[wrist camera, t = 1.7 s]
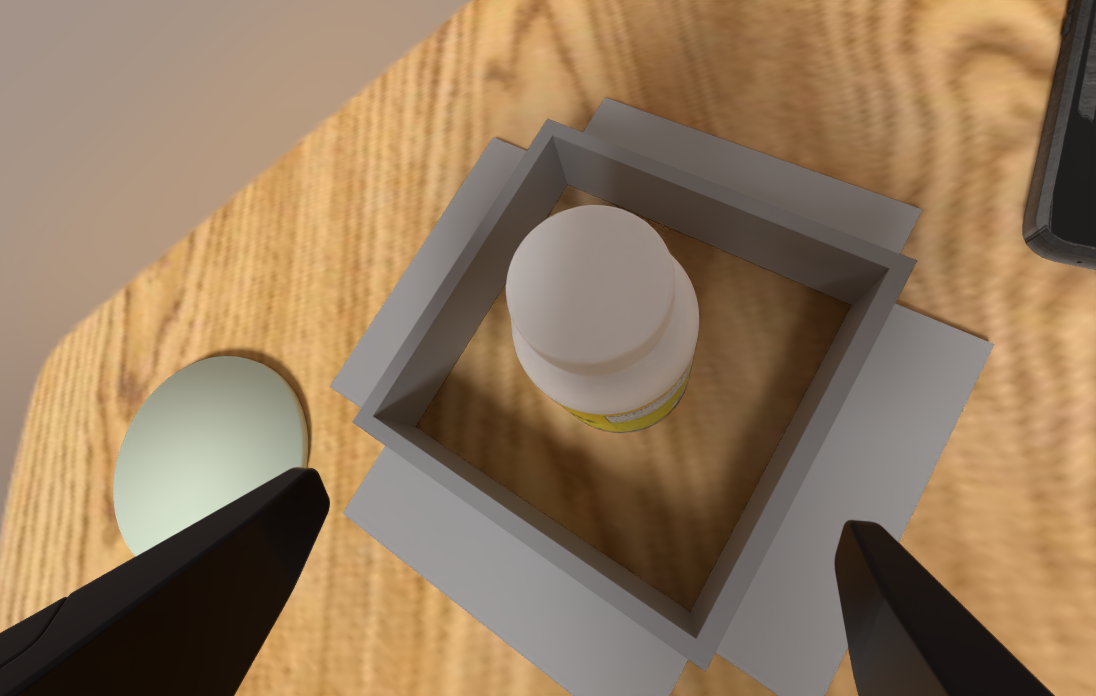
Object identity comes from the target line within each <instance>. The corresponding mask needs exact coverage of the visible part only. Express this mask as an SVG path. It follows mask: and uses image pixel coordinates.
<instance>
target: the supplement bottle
mask: <svg viewBox="0 0 1096 696" xmlns="http://www.w3.org/2000/svg"><path fill="white" fill-rule="evenodd" d="M506 299H507V305H508V310H509V313H510V316H511V318H512V321H511V327H512V338H513V343H514V347H515V351H516V354H517V356H518V359H519V361H520V363H521V365H522V367H523V368H524V370H525V372H526V373H527V375H528V376H529V378H530V379H531V380H532V381H533V383H534V384H535V385H536V386H537V387H538V388H539V389H540V390H541V391H542V392H543V393H545V394H546V395H547V396H548V397H550V398H551V399H552V400H554V401H555V402H556V403H558V404H559V405H561V406H562V407H563V408H564V409H566V410H567V411H569V412H570V413H571V414H573V415H574V416H575V417H577V418H578V419H579V420H581V421H582V422H584V423H586V424H588V425H589V426H591V427H594V428H596V429H599V430H602V431H606V432H612V433H630V432H636V431H640V430H643V429H646V428H648V427H651V426H653V425H655V424H656V423H658V422H659V421H661V420H662V419H664V418H665V417H666V416H667V415H668V414H669V413H670V412H671V411H672V410H673V409H674V408H675V407H676V406H677V404H678V403H679V401H680V399H681V398H682V396H683V394H684V392H685V389H686V386H687V383H688V379H689V374H690V370H691V366H692V362H693V357H694V352H695V348H696V343H697V339H698V333H699V308H698V302H697V298H696V294H695V291H694V288H693V285H692V283H691V281H690V279H689V277H688V275H687V273H686V272H685V270H684V269H683V267H682V266H681V265H680V264H679V263H678V261H677V260H676V259H675V258H674V257H673V256H672V255H671V254H670V253H669V251H668V249H667V246H666V245H665V243H664V241H663V239H662V238H661V237H660V235H659V234H658V233H657V232H656V231H655V230H654V229H653V228H652V227H651V226H650V225H649V224H648V223H647V222H645V221H644V220H643V219H641V218H639V217H638V216H636V215H635V214H632V213H630V212H628V211H625V210H623V209H620V208H616V207H611V206H604V205H585V206H579V207H574V208H571V209H567V210H564V211H561V212H559V213H557V214H555V215H553V216H551V217H549V218H548V219H546V220H545V221H543V222H542V223H540V224H539V225H538V226H536V227H535V228H534V229H533V230H532V231H531V232H530V233H529V234H528V235H527V236H526V237H525V239H524V240H523V241H522V243H521V244H520V246H519V247H518V249H517V250H516V252H515V254H514V256H513V259H512V261H511V263H510V267H509V270H508V274H507V280H506Z"/></svg>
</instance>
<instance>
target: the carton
mask: <svg viewBox="0 0 1096 696" xmlns="http://www.w3.org/2000/svg"><path fill="white" fill-rule="evenodd" d="M567 184H568V185H570V186H573V187H575V188H577V189H580V190H582V191H584V192H587V193H589V194H592V195H594V196H596V197H599V198H601V199H603V200H606V201H608V202H610V203H613V204H615V205H617V206H620V207H622V208H624V209H627V210H629V211H631V212H634V213H636V214H639V215H641V216H643V217H646V218H648V219H650V220H653V221H655V222H657V223H660V224H662V225H664V226H667V227H669V228H671V229H674V230H676V231H679V232H681V233H683V234H686V235H688V236H690V237H693V238H695V239H697V240H700V241H702V242H704V243H707V244H709V245H711V246H714V247H716V248H718V249H721V250H723V251H726V252H728V253H730V254H733V255H735V256H737V257H740V258H742V259H744V260H747V261H749V262H751V263H754V264H756V265H758V266H761V267H763V268H765V269H768V270H770V271H773V272H775V273H777V274H780V275H782V276H784V277H787V278H789V279H791V280H794V281H796V282H798V283H801V284H803V285H805V286H808V287H810V288H812V289H815V290H817V291H820V292H822V293H824V294H827V295H829V296H831V297H834V298H836V299H838V300H841V301H843V302H845V303H848V304H850V305H852V306H851V307H850V309H849V311H848V313H847V315H846V317H845V319H844V321H843V323H842V324H841V326H840V328H839V330H838V332H837V334H836V336H835V338H834V340H833V342H832V343H831V345H830V347H829V349H828V351H827V353H826V355H825V357H824V359H823V361H822V362H821V364H820V366H819V368H818V370H817V372H816V374H815V376H814V378H813V380H812V381H811V383H810V385H809V387H808V389H807V391H806V393H805V395H804V397H803V399H802V400H801V402H800V404H799V406H798V408H797V410H796V412H795V414H794V416H793V418H792V419H791V421H790V423H789V425H788V427H787V429H786V431H785V433H784V435H783V436H782V438H781V440H780V442H779V444H778V446H777V448H776V450H775V452H774V454H773V455H772V457H771V459H770V461H769V463H768V465H767V467H766V469H765V471H764V473H763V474H762V476H761V478H760V480H759V482H758V484H757V486H756V488H755V490H754V492H753V493H752V495H751V497H750V499H749V501H748V503H747V505H746V507H745V509H744V511H743V512H742V514H741V516H740V518H739V520H738V522H737V524H736V526H735V528H734V530H733V531H732V533H731V535H730V537H729V539H728V541H727V543H726V545H725V547H724V549H723V550H722V552H721V554H720V556H719V558H718V560H717V562H716V564H715V566H714V567H713V569H712V571H711V573H710V575H709V577H708V579H707V581H706V583H705V585H704V586H703V588H702V590H701V592H700V594H699V596H698V598H697V600H696V602H695V604H694V605H693V607H692V609H691V611H690V612H689V611H688V610H687V609H685V608H684V607H682V606H681V605H679V604H678V603H676V602H675V601H673V600H672V599H670V598H669V597H667V596H666V595H664V594H663V593H661V592H660V591H658V590H657V589H655V588H654V587H652V586H651V585H649V584H648V583H646V582H645V581H643V580H642V579H641V578H639V577H638V576H636V575H635V574H633V573H632V572H630V571H629V570H627V569H626V568H624V567H623V566H621V565H620V564H618V563H617V562H615V561H614V560H612V559H611V558H609V557H608V556H606V555H605V554H603V553H602V552H600V551H599V550H597V549H596V548H595V547H593V546H592V545H590V544H589V543H587V542H586V541H584V540H583V539H581V538H580V537H578V536H577V535H575V534H574V533H572V532H571V531H569V530H568V529H566V528H565V527H563V526H562V525H560V524H559V523H557V522H556V521H554V520H553V519H551V518H550V517H549V516H547V515H546V514H544V513H543V512H541V511H540V510H538V509H537V508H535V507H534V506H532V505H531V504H529V503H528V502H526V501H525V500H523V499H522V498H520V497H519V496H517V495H516V494H514V493H513V492H511V491H510V490H508V489H507V488H506V487H504V486H503V485H501V484H500V483H498V482H497V481H495V480H494V479H492V478H491V477H489V476H488V475H486V474H485V473H483V472H482V471H480V470H479V469H477V468H476V467H474V466H473V465H471V464H470V463H468V462H467V461H465V460H464V459H462V458H461V457H460V456H458V455H457V454H455V453H454V452H452V451H451V450H449V449H448V448H446V447H445V446H443V445H442V444H440V443H439V442H437V441H436V440H434V439H433V438H431V437H430V436H428V435H427V434H425V433H424V432H422V431H421V430H419V429H418V428H416V426H417V424H418V422H419V421H420V419H421V418H422V416H423V414H424V413H425V411H426V410H427V408H428V406H429V405H430V403H431V402H432V400H433V398H434V397H435V395H436V394H437V392H438V390H439V389H440V387H441V386H442V384H443V382H444V381H445V379H446V378H447V376H448V374H449V373H450V371H451V370H452V368H453V367H454V365H455V363H456V362H457V360H458V359H459V357H460V355H461V354H462V352H463V351H464V349H465V347H466V346H467V344H468V343H469V341H470V339H471V338H472V336H473V335H474V333H475V331H476V330H477V328H478V327H479V325H480V323H481V322H482V320H483V319H484V317H485V315H486V314H487V312H488V311H489V309H490V307H491V306H492V304H493V303H494V301H495V299H496V298H497V296H498V295H499V293H500V291H501V290H502V288H503V287H504V285H505V283H506V280H507V274H508V270H509V267H510V263H511V261H512V259H513V256H514V254H515V252H516V250H517V249H518V247H519V246H520V244H521V243H522V241H523V240H524V239H525V237H526V236H527V235H528V234H529V233H530V232H531V231H532V230H533V229H534V228H535V227H536V226H538V225H539V224H540V223H542V222H543V221H545V220H546V218H547V216H548V215H549V213H550V212H551V210H552V208H553V207H554V205H555V204H556V202H557V200H558V199H559V197H560V196H561V194H562V192H563V191H564V189H565V188H566V186H567ZM921 212H922V209H920V208H917V207H914V206H911V205H908V204H906V203H903V202H900V201H897V200H894V199H891V198H889V197H886V196H883V195H880V194H877V193H874V192H872V191H869V190H866V189H863V188H860V187H857V186H855V185H852V184H849V183H846V182H843V181H840V180H838V179H835V178H832V177H829V176H826V175H823V174H821V173H818V172H815V171H812V170H809V169H806V168H804V167H801V166H798V165H795V164H792V163H789V162H787V161H784V160H781V159H778V158H775V157H772V156H770V155H767V154H764V153H761V152H758V151H755V150H753V149H750V148H747V147H744V146H741V145H738V144H736V143H733V142H730V141H727V140H724V139H722V138H719V137H716V136H713V135H710V134H707V133H705V132H702V131H699V130H696V129H693V128H690V127H688V126H685V125H682V124H679V123H676V122H673V121H671V120H668V119H665V118H662V117H659V116H656V115H654V114H651V113H648V112H645V111H642V110H639V109H637V108H634V107H631V106H628V105H625V104H622V103H620V102H617V101H614V100H611V99H608V98H604V100H603V101H602V103H601V105H600V106H599V108H598V109H597V111H596V113H595V114H594V116H593V117H592V119H591V120H590V122H589V124H588V125H587V127H586V128H585V130H584V132H581V131H578V130H576V129H573V128H570V127H568V126H565V125H563V124H560V123H557V122H555V121H552V120H550V119H547V120H546V122H545V123H544V125H543V127H542V128H541V130H540V131H539V133H538V134H537V136H536V137H535V139H534V141H533V142H532V144H531V145H530V147H529V148H528V150H527V151H526V150H523V149H521V148H518V147H516V146H514V145H511V144H509V143H506V142H504V141H502V140H499V139H497V138H494V137H493V138H492V140H491V141H490V143H489V144H488V146H487V148H486V149H485V151H484V152H483V154H482V155H481V157H480V158H479V160H478V161H477V163H476V164H475V166H474V167H473V169H472V170H471V172H470V173H469V175H468V176H467V178H466V180H465V181H464V183H463V184H462V186H461V187H460V189H459V190H458V192H457V193H456V195H455V196H454V198H453V199H452V201H451V202H450V204H449V205H448V207H447V209H446V210H445V212H444V213H443V215H442V216H441V218H440V219H439V221H438V222H437V224H436V225H435V227H434V228H433V230H432V231H431V233H430V234H429V236H428V237H427V239H426V241H425V242H424V244H423V245H422V247H421V248H420V250H419V251H418V253H417V254H416V256H415V257H414V259H413V260H412V262H411V263H410V265H409V266H408V268H407V269H406V271H405V273H404V274H403V276H402V277H401V279H400V280H399V282H398V283H397V285H396V286H395V288H394V289H393V291H392V292H391V294H390V295H389V297H388V298H387V300H386V302H385V303H384V305H383V306H382V308H381V309H380V311H379V312H378V314H377V315H376V317H375V318H374V320H373V321H372V323H371V324H370V326H369V327H368V329H367V330H366V332H365V334H364V335H363V337H362V338H361V340H360V341H359V343H358V344H357V346H356V347H355V349H354V350H353V352H352V353H351V355H350V356H349V358H348V359H347V361H346V363H345V364H344V366H343V367H342V369H341V370H340V372H339V373H338V375H337V376H336V378H335V379H334V381H333V382H332V384H331V385H330V387H331V388H333V389H334V390H335V391H337V392H338V393H340V394H341V395H343V396H344V397H346V398H347V399H349V400H350V401H351V402H353V403H354V404H356V405H357V406H359V407H360V408H361V409H360V411H359V412H358V414H357V416H356V417H355V419H354V420H353V423H354V424H356V425H357V426H358V427H360V428H361V429H363V430H364V431H365V432H367V433H368V434H370V435H371V436H373V437H374V438H375V439H377V440H378V441H380V442H381V443H382V444H384V445H385V447H384V449H383V450H382V452H381V453H380V455H379V457H378V458H377V460H376V461H375V463H374V465H373V466H372V468H371V469H370V471H369V472H368V474H367V476H366V477H365V479H364V480H363V482H362V484H361V485H360V487H359V488H358V490H357V491H356V493H355V495H354V496H353V498H352V499H351V501H350V503H349V504H348V506H347V507H346V509H345V510H344V512H343V514H344V515H345V516H346V517H348V518H349V519H350V520H352V521H353V522H354V523H355V524H357V525H358V526H359V527H360V528H362V529H363V530H364V531H365V532H367V533H368V534H369V535H370V536H372V537H373V538H374V539H376V540H377V541H378V542H379V543H381V544H382V545H383V546H384V547H386V548H387V549H388V550H389V551H391V552H392V553H393V554H395V555H396V556H397V557H398V558H400V559H401V560H402V561H403V562H405V563H406V564H407V565H408V566H410V567H411V568H412V569H413V570H415V571H416V572H417V573H419V574H420V575H421V576H422V577H424V578H425V579H426V580H427V581H429V582H430V583H431V584H432V585H434V586H435V587H436V588H437V589H439V590H440V591H441V592H443V593H444V594H445V595H446V596H448V597H449V598H450V599H451V600H453V601H454V602H455V603H456V604H458V605H459V606H460V607H462V608H463V609H464V610H465V611H467V612H468V613H469V614H470V615H472V616H473V617H474V618H475V619H477V620H478V621H479V622H480V623H482V624H483V625H484V626H486V627H487V628H488V629H489V630H491V631H492V632H493V633H494V634H496V635H497V636H498V637H499V638H501V639H502V640H503V641H505V642H506V643H507V644H508V645H510V646H511V647H512V648H513V649H515V650H516V651H517V652H518V653H520V654H521V655H522V656H523V657H525V658H526V659H527V660H529V661H530V662H531V663H532V664H534V665H535V666H536V667H537V668H539V669H540V670H541V671H542V672H544V673H545V674H546V675H548V676H549V677H550V678H551V679H553V680H554V681H555V682H556V683H558V684H559V685H560V686H561V687H563V688H564V689H565V690H566V691H568V692H569V693H570V694H572V695H573V696H669V695H670V694H671V692H672V690H673V688H674V686H675V684H676V682H677V680H678V678H679V676H680V674H681V672H682V671H683V669H684V667H685V665H686V663H687V661H688V660H690V661H691V662H692V663H694V664H695V665H697V666H698V667H700V668H701V669H702V670H704V671H705V672H706V670H707V668H708V666H709V664H710V662H711V660H712V658H713V656H714V654H715V652H716V653H717V654H719V655H720V656H721V657H723V658H724V659H726V660H727V661H729V662H730V663H732V664H733V665H734V666H736V667H737V668H739V669H740V670H742V671H743V672H745V673H746V674H748V675H749V676H750V677H752V678H753V679H755V680H756V681H758V682H759V683H761V684H762V685H763V686H765V687H766V688H768V689H769V690H771V691H772V692H774V693H775V694H777V695H778V696H825V694H826V692H827V690H828V688H829V686H830V684H831V682H832V680H833V678H834V675H835V673H836V671H837V669H838V667H839V665H840V663H841V661H842V659H843V657H844V655H845V653H846V651H847V649H848V643H847V637H846V632H845V626H844V620H843V615H842V609H841V603H840V597H839V592H838V586H837V580H836V574H835V566H834V560H835V553H836V550H837V546H838V543H839V540H840V536H841V533H842V529H843V526H844V524H845V522H846V521H848V520H860V521H871V522H876V523H878V524H880V525H881V526H882V527H884V528H885V529H886V530H887V531H888V532H889V533H890V534H891V535H892V536H893V537H894V538H895V539H896V540H897V541H898V542H899V541H900V539H901V537H902V534H903V532H904V530H905V528H906V526H907V524H908V522H909V520H910V518H911V516H912V514H913V512H914V510H915V508H916V505H917V503H918V501H919V499H920V497H921V495H922V493H923V491H924V489H925V487H926V485H927V483H928V481H929V479H930V476H931V474H932V472H933V470H934V468H935V466H936V464H937V462H938V460H939V458H940V456H941V454H942V452H943V449H944V447H945V445H946V443H947V441H948V439H949V437H950V435H951V433H952V431H953V429H954V427H955V425H956V423H957V420H958V418H959V416H960V414H961V412H962V410H963V408H964V406H965V404H966V402H967V400H968V398H969V396H970V394H971V391H972V389H973V387H974V385H975V383H976V381H977V379H978V377H979V375H980V373H981V371H982V369H983V367H984V364H985V362H986V360H987V358H988V356H989V354H990V352H991V350H992V348H993V346H994V344H992V343H990V342H988V341H985V340H983V339H980V338H978V337H975V336H973V335H971V334H968V333H966V332H963V331H961V330H959V329H956V328H954V327H951V326H949V325H946V324H944V323H942V322H939V321H937V320H934V319H932V318H929V317H927V316H925V315H922V314H920V313H917V312H915V311H913V310H910V309H908V308H905V307H903V306H900V305H898V304H896V301H897V299H898V297H899V295H900V293H901V291H902V289H903V287H904V285H905V283H906V282H907V280H908V278H909V276H910V274H911V272H912V270H913V268H914V266H915V264H916V262H917V260H914V259H912V258H909V257H907V256H904V255H901V254H900V252H901V250H902V248H903V246H904V244H905V242H906V241H907V239H908V237H909V235H910V233H911V231H912V229H913V227H914V225H915V223H916V221H917V219H918V218H919V216H920V214H921Z"/></svg>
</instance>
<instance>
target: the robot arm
mask: <svg viewBox="0 0 1096 696" xmlns="http://www.w3.org/2000/svg"><path fill="white" fill-rule="evenodd" d="M329 507H330V499H329V496H328V494H327V492H326V489H325V487H324V484H323V482H322V480H321V477H320V475H319V473H318V472H317V471H316V470H315V469H313V468H305V467H294V468H291V469H289V470H287V471H285V472H284V473H282V474H280V475H278V476H277V477H275V478H273V479H271V480H269V481H268V482H266V483H264V484H262V485H261V486H259V487H257V488H255V489H254V490H252V491H250V492H248V493H247V494H245V495H243V496H241V497H240V498H238V499H236V500H234V501H233V502H231V503H229V504H227V505H226V506H224V507H222V508H220V509H218V510H217V511H215V512H213V513H211V514H210V515H208V516H206V517H204V518H203V519H201V520H199V521H197V522H196V523H194V524H192V525H190V526H189V527H187V528H185V529H183V530H182V531H180V532H178V533H176V534H174V535H173V536H171V537H169V538H167V539H166V540H164V541H162V542H160V543H159V544H157V545H155V546H153V547H152V548H150V549H148V550H146V551H145V552H143V553H141V554H139V555H138V556H136V557H134V558H132V559H131V560H129V561H127V562H125V563H123V564H122V565H120V566H118V567H116V568H115V569H113V570H111V571H109V572H108V573H106V574H104V575H102V576H101V577H99V578H97V579H95V580H94V581H92V582H90V583H88V584H87V585H85V586H83V587H81V588H79V589H78V590H76V591H74V592H72V593H71V594H70V595H69V596H68V597H64V598H62V599H60V600H58V601H56V602H55V603H53V604H51V605H49V606H48V607H46V608H44V609H42V610H41V611H39V612H37V613H35V614H34V615H32V616H30V617H28V618H26V619H25V620H23V621H21V622H19V623H17V624H16V625H14V626H12V627H10V628H8V629H7V630H5V631H3V632H1V633H0V696H234V695H235V694H236V692H237V690H238V688H239V686H240V685H241V683H242V681H243V679H244V677H245V676H246V674H247V672H248V670H249V669H250V667H251V665H252V663H253V661H254V660H255V658H256V656H257V654H258V652H259V651H260V649H261V647H262V645H263V644H264V642H265V640H266V638H267V636H268V635H269V633H270V631H271V629H272V627H273V626H274V624H275V622H276V620H277V619H278V617H279V615H280V613H281V611H282V610H283V608H284V606H285V604H286V602H287V601H288V599H289V597H290V595H291V593H292V591H293V589H294V587H295V585H296V583H297V581H298V579H299V577H300V575H301V572H302V570H303V568H304V566H305V563H306V561H307V559H308V557H309V554H310V552H311V550H312V548H313V545H314V543H315V541H316V539H317V537H318V534H319V532H320V530H321V528H322V525H323V523H324V521H325V519H326V516H327V514H328V511H329ZM834 566H835V574H836V580H837V586H838V592H839V597H840V603H841V609H842V615H843V620H844V626H845V632H846V637H847V643H848V649H849V655H850V660H851V665H852V670H853V676H854V680H855V684H856V687H857V691H858V695H859V696H1055V695H1054V694H1053V693H1052V692H1051V691H1050V690H1049V689H1048V688H1046V687H1045V686H1044V685H1043V684H1042V683H1041V682H1040V681H1039V680H1038V679H1037V678H1036V677H1035V676H1034V675H1033V674H1032V673H1031V672H1030V671H1029V670H1028V669H1027V668H1026V667H1025V666H1024V665H1023V664H1022V663H1021V662H1020V661H1019V660H1018V659H1017V658H1016V657H1015V656H1014V655H1013V654H1012V653H1011V652H1010V651H1009V650H1008V649H1007V648H1006V647H1005V646H1004V645H1003V644H1002V643H1001V642H1000V641H999V640H998V639H997V638H996V637H995V636H994V635H993V634H992V633H990V632H989V631H988V630H987V629H986V628H985V627H984V626H983V625H982V624H981V623H980V622H979V621H978V620H977V619H976V618H975V617H974V616H973V615H972V614H971V613H970V612H969V611H968V610H967V609H966V608H965V607H964V606H963V605H962V604H961V603H960V602H959V601H958V600H957V599H956V598H955V597H954V596H953V595H952V594H951V593H950V592H949V591H948V590H947V589H946V588H945V587H944V586H943V585H942V584H941V583H940V582H939V581H938V580H937V579H936V578H935V577H933V576H932V575H931V574H930V573H929V572H928V571H927V570H926V569H925V568H924V567H923V566H922V565H921V564H920V563H919V562H918V561H917V560H916V559H915V558H914V557H913V556H912V555H911V554H910V553H909V552H908V551H907V550H906V549H905V548H904V547H903V546H902V545H901V544H900V543H899V542H898V541H897V540H896V539H895V538H894V537H893V536H892V535H891V534H890V533H889V532H888V531H887V530H886V529H885V528H884V527H882V526H881V525H880V524H878V523H876V522H871V521H860V520H848V521H846V522H845V524H844V526H843V529H842V533H841V536H840V540H839V543H838V546H837V550H836V553H835V560H834Z"/></svg>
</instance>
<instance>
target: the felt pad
mask: <svg viewBox="0 0 1096 696" xmlns="http://www.w3.org/2000/svg"><path fill="white" fill-rule="evenodd" d="M307 460H308V431H307V424H306V419H305V416H304V412H303V409H302V406H301V404H300V402H299V399H298V397H297V395H296V394H295V392H294V391H293V389H292V387H291V386H290V385H289V384H288V383H287V381H286V380H285V379H284V378H283V377H282V376H281V375H279V374H278V373H277V372H276V371H275V370H273V369H271V368H270V367H268V366H266V365H264V364H261V363H259V362H256V361H253V360H250V359H247V358H242V357H237V356H219V357H212V358H208V359H204V360H201V361H198V362H195V363H193V364H190V365H189V366H187V367H185V368H183V369H181V370H179V371H178V372H176V373H175V374H174V375H172V376H171V377H169V378H168V379H167V380H166V381H165V382H163V383H162V384H161V385H160V386H159V387H158V388H157V389H156V390H155V391H154V392H153V393H152V394H151V395H150V396H149V398H148V399H147V400H146V401H145V403H144V404H143V405H142V407H141V408H140V409H139V411H138V413H137V414H136V416H135V417H134V419H133V421H132V423H131V425H130V427H129V429H128V430H127V432H126V435H125V437H124V440H123V443H122V445H121V448H120V452H119V455H118V458H117V463H116V468H115V474H114V486H113V494H114V507H115V515H116V519H117V522H118V526H119V529H120V531H121V534H122V536H123V539H124V540H125V542H126V544H127V545H128V547H129V549H130V550H131V552H132V553H133V554H134V555H135V556H138V555H139V554H141V553H143V552H145V551H146V550H148V549H150V548H152V547H153V546H155V545H157V544H159V543H160V542H162V541H164V540H166V539H167V538H169V537H171V536H173V535H174V534H176V533H178V532H180V531H182V530H183V529H185V528H187V527H189V526H190V525H192V524H194V523H196V522H197V521H199V520H201V519H203V518H204V517H206V516H208V515H210V514H211V513H213V512H215V511H217V510H218V509H220V508H222V507H224V506H226V505H227V504H229V503H231V502H233V501H234V500H236V499H238V498H240V497H241V496H243V495H245V494H247V493H248V492H250V491H252V490H254V489H255V488H257V487H259V486H261V485H262V484H264V483H266V482H268V481H269V480H271V479H273V478H275V477H277V476H278V475H280V474H282V473H284V472H285V471H287V470H289V469H291V468H294V467H305V468H306V467H307Z"/></svg>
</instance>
